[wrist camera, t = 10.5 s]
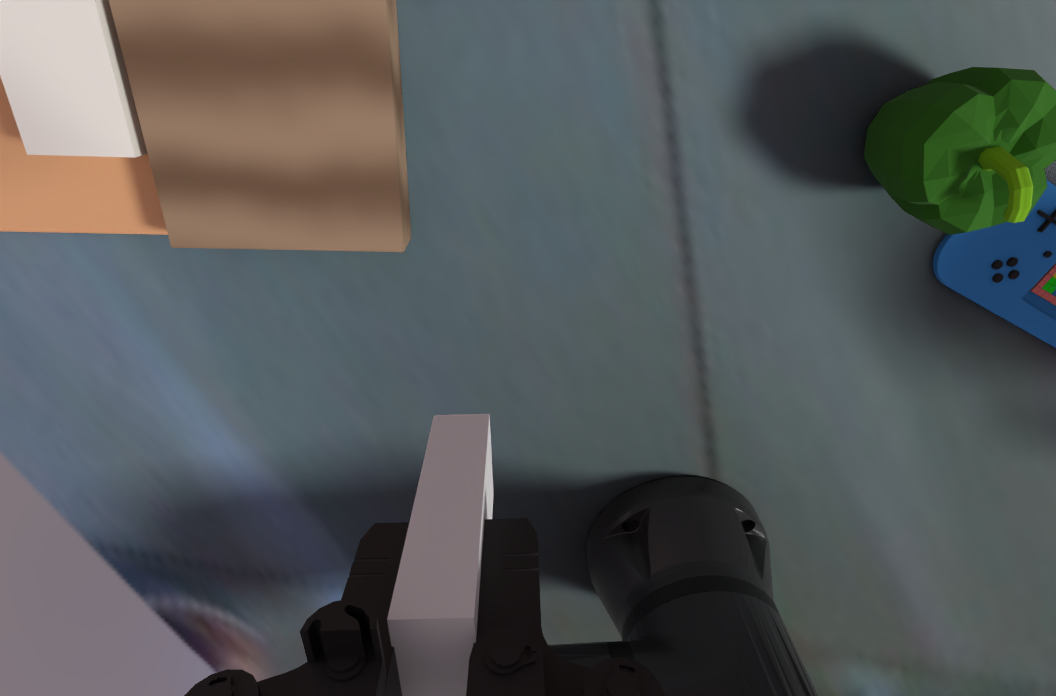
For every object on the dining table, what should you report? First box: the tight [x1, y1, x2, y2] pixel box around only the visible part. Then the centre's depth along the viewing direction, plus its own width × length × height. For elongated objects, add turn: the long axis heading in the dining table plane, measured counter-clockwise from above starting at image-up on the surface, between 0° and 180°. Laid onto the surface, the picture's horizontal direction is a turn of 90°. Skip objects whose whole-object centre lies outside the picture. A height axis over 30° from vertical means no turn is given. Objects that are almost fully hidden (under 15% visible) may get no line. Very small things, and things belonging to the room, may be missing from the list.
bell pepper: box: [864, 67, 1056, 235], centre depth 33 cm, size 8×8×10 cm
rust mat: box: [0, 76, 168, 235], centre depth 34 cm, size 20×16×1 cm
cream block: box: [0, 0, 148, 158], centre depth 33 cm, size 10×6×2 cm, turn 178°
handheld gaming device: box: [933, 180, 1056, 348], centre depth 41 cm, size 8×1×15 cm
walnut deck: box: [109, 0, 411, 252], centre depth 33 cm, size 20×14×3 cm
